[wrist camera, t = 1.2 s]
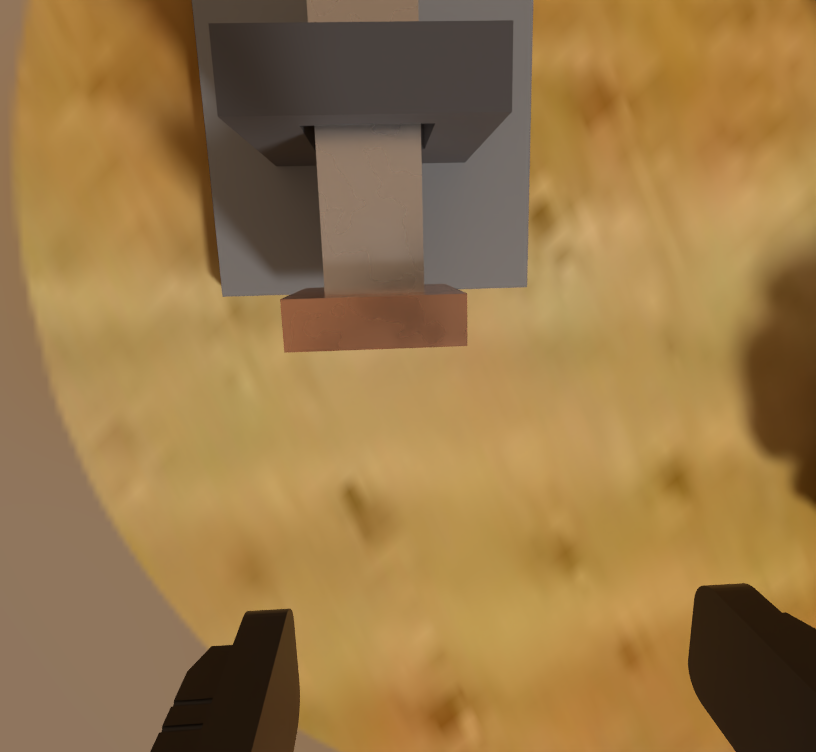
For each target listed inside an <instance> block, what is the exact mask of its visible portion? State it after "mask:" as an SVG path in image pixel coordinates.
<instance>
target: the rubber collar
mask: <svg viewBox="0 0 816 752" xmlns="http://www.w3.org/2000/svg"><path fill="white" fill-rule="evenodd" d="M208 24H209V34H210V44H211V55H212V65H213V75H214V85H215V95H216V105H217V115H218V117H219V118H220V119H221V120H222V121H223V122H225V123H226V124H227V125H228V126H229V127H230V128H232V129H233V130H234V131H235V132H236V133H238V134H239V135H240V136H241V137H242V138H243V139H245V140H246V141H247V142H248V143H249V144H251V145H252V146H253V147H254V148H255V149H256V150H258V151H259V152H260V153H261V154H262V155H264V156H265V157H266V158H267V159H268V160H269V161H271V162H272V163H273V164H274V165H275V166H317V161H316V145H315V128H314V125H369V124H421V157H422V163H464V162H466V161H467V160H468V159H469V158H470V157H471V155H472V154H473V153H474V152H475V151H476V150H477V149H478V148H479V147H480V146H481V145H482V144H483V143H484V141H485V140H486V139H487V138H488V137H489V136H490V135H491V134H492V133H493V132H494V131H495V130H496V128H497V127H498V126H499V125H500V124H501V123H502V122H503V121H504V120H505V119H506V118H507V117H508V115H509V114H510V113H511V112H512V82H513V20H494V21H392V22H289V23H208Z"/></svg>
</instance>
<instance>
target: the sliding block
mask: <svg viewBox="0 0 816 752" xmlns="http://www.w3.org/2000/svg"><path fill="white" fill-rule="evenodd" d="M307 15H308V22H392V21H419V12H418V0H307ZM314 128H315V145H316V161H317V177H318V193H319V209H320V225H321V241H322V258H323V274H324V287H321V288H305V289H302V290H300V291H298V292H296V293H294V294H291V295H289V296H287V297H285V298H283V299H280V302H281V315H282V327H283V339H284V352H310V351H338V350H365V349H393V348H421V347H449V346H467V293H465V292H462V291H460V290H458V289H456V288H454V287H451V286H449V285H447V284H424V253H423V205H422V157H421V124H369V125H314Z"/></svg>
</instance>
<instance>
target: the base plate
mask: <svg viewBox="0 0 816 752" xmlns="http://www.w3.org/2000/svg"><path fill="white" fill-rule="evenodd" d="M192 7H193V17H194V27H195V36H196V46H197V55H198V65H199V74H200V84H201V94H202V103H203V113H204V122H205V132H206V142H207V151H208V161H209V170H210V180H211V190H212V199H213V209H214V218H215V228H216V238H217V247H218V257H219V266H220V276H221V285H222V295H223V297H226V296H258V295H290V294H294V293H296V292H298V291H300V290H302V289H305V288H321V287H324V274H323V258H322V241H321V225H320V209H319V193H318V177H317V166H275V165H274V164H273V163H272V162H271V161H269V160H268V159H267V158H266V157H265V156H264V155H262V154H261V153H260V152H259V151H258V150H256V149H255V148H254V147H253V146H252V145H251V144H249V143H248V142H247V141H246V140H245V139H243V138H242V137H241V136H240V135H239V134H238V133H236V132H235V131H234V130H233V129H232V128H230V127H229V126H228V125H227V124H226V123H225V122H223V121H222V120H221V119H220V118H219V117H218V115H217V105H216V95H215V85H214V75H213V65H212V55H211V44H210V34H209V24H208V23H289V22H308V15H307V0H192ZM418 12H419V21H494V20H513V82H512V112H511V113H510V114H509V115H508V117H507V118H506V119H505V120H504V121H503V122H502V123H501V124H500V125H499V126H498V127H497V128H496V130H495V131H494V132H493V133H492V134H491V135H490V136H489V137H488V138H487V139H486V140H485V141H484V143H483V144H482V145H481V146H480V147H479V148H478V149H477V150H476V151H475V152H474V153H473V154H472V155H471V157H470V158H469V159H468V160H467V161H466V162H464V163H422V205H423V253H424V284H447V285H449V286H451V287H454V288H456V289H480V288H512V287H527V261H528V215H529V169H530V122H531V76H532V30H533V0H418Z"/></svg>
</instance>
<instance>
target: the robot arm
mask: <svg viewBox="0 0 816 752" xmlns="http://www.w3.org/2000/svg"><path fill="white" fill-rule="evenodd" d="M688 668H689V674H690V679H691V682H692V685H693V688H694V690H695V693H696V695H697V697H698V699H699V700H700V702H701V704H702V705H703V706H704V708H705V709H706V711H707V712H708V713H709V715H710V716H711V718H712V719H713V720H714V722H715V723H716V725H717V726H718V727H719V729H720V730H721V732H722V733H723V734H724V736H725V737H726V739H727V740H728V741H729V743H730V744H731V745H732V747H733V748H734V750H735V751H736V752H816V629H815V628H813V627H811V626H809V625H808V624H806V623H804V622H802V621H800V620H799V619H797V618H795V617H793V616H791V615H790V614H788V613H782V612H780V611H779V610H778V609H777V608H776V607H775V606H774V605H773V604H772V603H770V602H769V601H768V600H767V599H766V598H765V597H764V596H763V595H761V594H760V593H759V592H758V591H757V590H756V589H755V588H753V587H752V586H750V585H748V584H745V583H742V584H725V585H708V586H701V587H699V588H698V589H697V591H696V594H695V598H694V608H693V617H692V627H691V637H690V647H689V656H688ZM299 706H300V685H299V673H298V662H297V651H296V639H295V628H294V618H293V613H292V610H291V609H277V610H260V611H247V612H246V613H245V615H244V617H243V619H242V622H241V625H240V627H239V630H238V633H237V635H236V638H235V640H234V643H233V645H225V646H211V647H210V649H209V650H208V651H207V652H206V653H205V654H204V655H203V656H202V657H201V658H200V659H199V660H198V661H197V662H196V663H195V664H194V665H193V666H192V667H191V668H190V669H189V670H188V671H187V674H186V676H185V678H184V680H183V682H182V684H181V687H180V689H179V691H178V693H177V695H176V698H175V700H174V706H173V707H171V708H170V711H169V713H168V715H167V717H166V719H165V721H164V724H163V726H162V732H161V733H159V734H158V737H157V739H156V741H155V743H154V745H153V747H152V750H151V752H293V751H294V745H295V740H296V734H297V728H298V720H299Z"/></svg>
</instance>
